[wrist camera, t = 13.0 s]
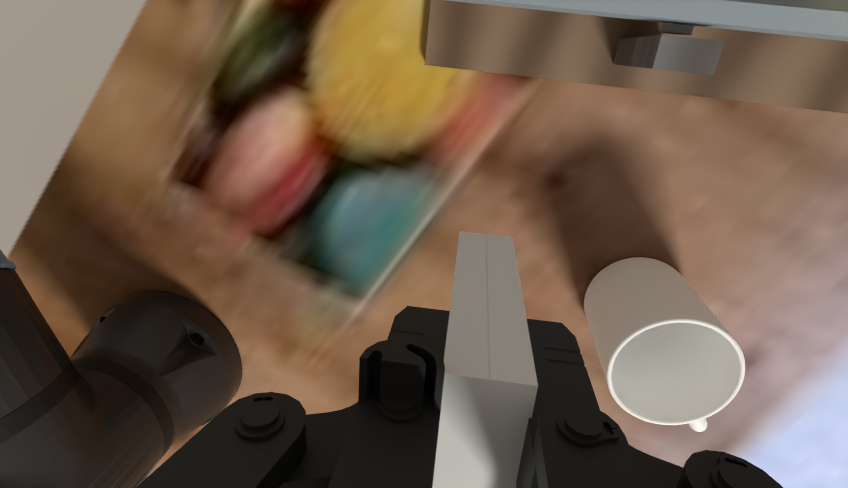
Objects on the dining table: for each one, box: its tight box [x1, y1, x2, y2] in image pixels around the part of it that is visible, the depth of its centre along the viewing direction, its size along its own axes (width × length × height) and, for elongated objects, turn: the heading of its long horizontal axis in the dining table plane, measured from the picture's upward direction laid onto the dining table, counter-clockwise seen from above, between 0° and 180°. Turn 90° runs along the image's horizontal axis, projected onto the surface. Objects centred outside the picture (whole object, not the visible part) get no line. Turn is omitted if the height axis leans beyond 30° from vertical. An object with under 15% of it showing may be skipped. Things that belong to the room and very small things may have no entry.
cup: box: [584, 257, 745, 432], centre depth 36 cm, size 8×12×10 cm
